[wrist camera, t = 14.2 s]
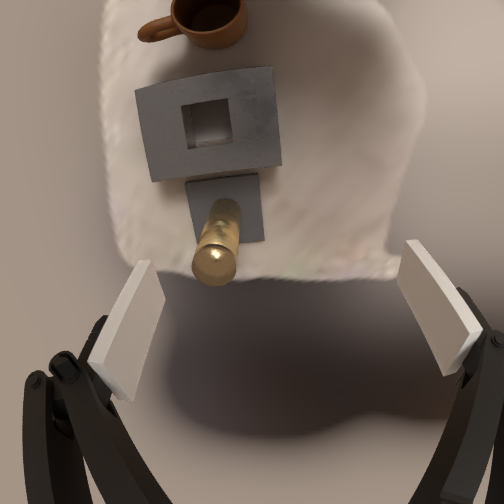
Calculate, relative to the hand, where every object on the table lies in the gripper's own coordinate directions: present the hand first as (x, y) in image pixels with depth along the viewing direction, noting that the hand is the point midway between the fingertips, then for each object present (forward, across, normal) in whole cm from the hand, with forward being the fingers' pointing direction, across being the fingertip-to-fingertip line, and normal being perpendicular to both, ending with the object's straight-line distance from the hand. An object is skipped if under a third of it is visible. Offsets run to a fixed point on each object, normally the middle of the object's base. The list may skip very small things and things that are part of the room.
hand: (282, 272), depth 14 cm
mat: (+26, -6, -8) cm, 28 cm away
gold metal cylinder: (+25, -6, -8) cm, 27 cm away
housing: (+26, -6, +5) cm, 28 cm away
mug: (+27, -7, +18) cm, 33 cm away
